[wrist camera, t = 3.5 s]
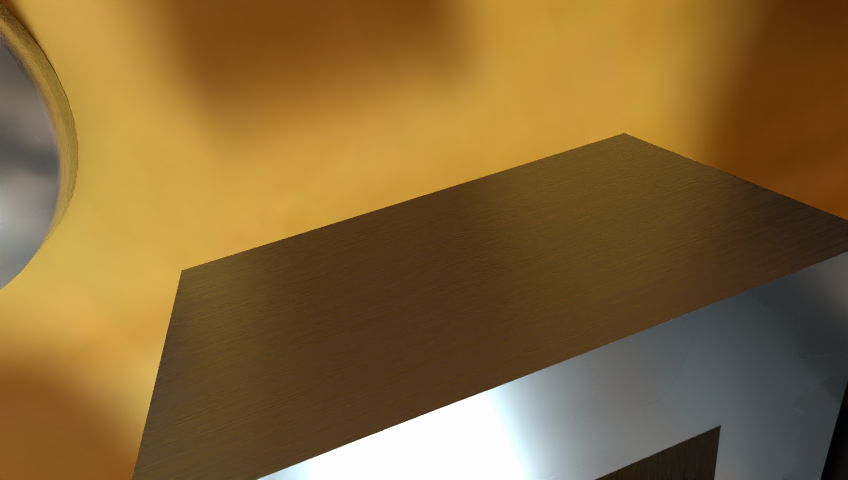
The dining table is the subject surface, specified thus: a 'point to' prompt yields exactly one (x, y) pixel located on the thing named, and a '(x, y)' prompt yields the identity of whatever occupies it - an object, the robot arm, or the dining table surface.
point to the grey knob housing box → (519, 335)
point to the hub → (31, 148)
